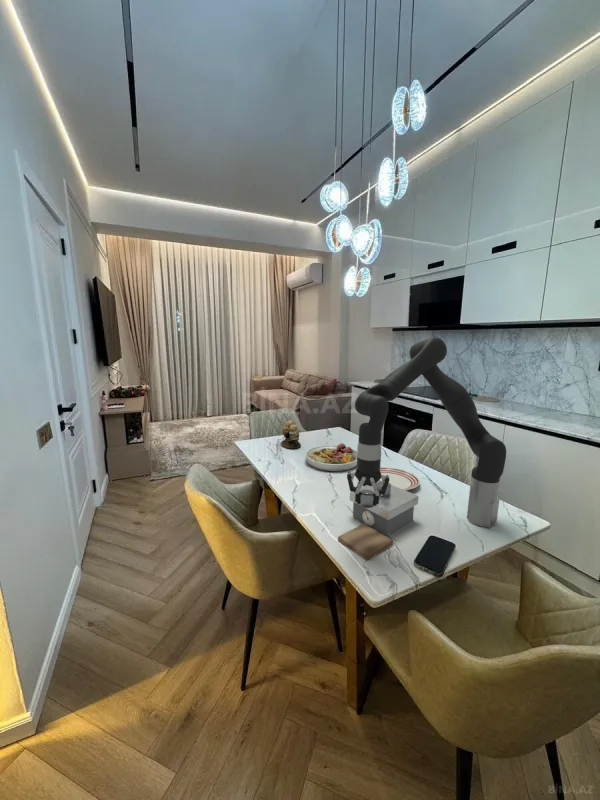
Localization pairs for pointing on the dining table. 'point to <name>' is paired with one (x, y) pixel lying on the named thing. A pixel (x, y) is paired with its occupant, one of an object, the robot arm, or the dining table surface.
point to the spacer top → (367, 498)
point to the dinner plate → (400, 478)
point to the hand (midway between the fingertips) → (366, 503)
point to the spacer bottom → (388, 490)
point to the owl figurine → (290, 436)
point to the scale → (382, 519)
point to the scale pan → (391, 502)
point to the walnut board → (365, 541)
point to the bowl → (332, 457)
